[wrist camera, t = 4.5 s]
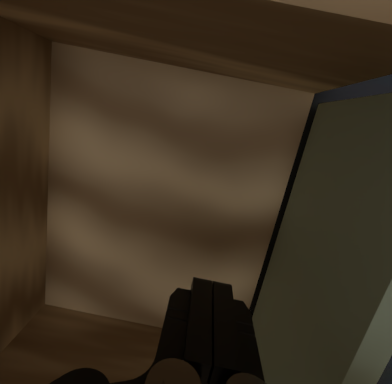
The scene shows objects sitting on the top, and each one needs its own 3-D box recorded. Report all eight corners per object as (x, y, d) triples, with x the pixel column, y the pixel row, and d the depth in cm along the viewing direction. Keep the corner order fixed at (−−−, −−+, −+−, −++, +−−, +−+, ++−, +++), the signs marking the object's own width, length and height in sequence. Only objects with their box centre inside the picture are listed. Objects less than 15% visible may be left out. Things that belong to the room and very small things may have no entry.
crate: (51, 27, 15) (-300, -176, 5) (310, 78, 15) (529, -13, 5) (44, 298, 21) (-126, 480, 10) (234, 337, 21) (256, 559, 10)
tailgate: (318, 103, 14) (487, 78, 5) (346, 109, 14) (561, 92, 5) (244, 341, 19) (272, 529, 10) (265, 345, 19) (311, 536, 10)
